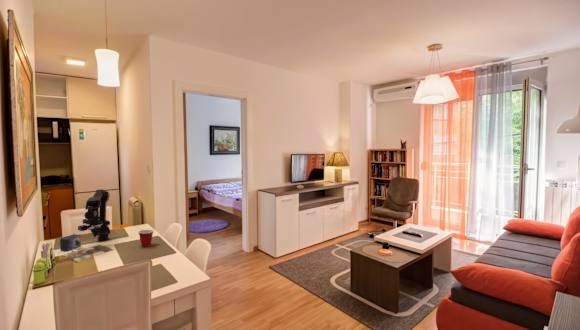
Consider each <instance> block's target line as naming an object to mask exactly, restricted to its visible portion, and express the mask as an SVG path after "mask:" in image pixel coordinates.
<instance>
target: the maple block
mask: <svg viewBox="0 0 580 330" xmlns="http://www.w3.org/2000/svg"><path fill="white" fill-rule="evenodd" d="M86 251H87V249H86V248H85V247H82V246H81V247H78V248H76V249H73V250H71V252H72V256H74V257H79V256H83V255H86Z"/></svg>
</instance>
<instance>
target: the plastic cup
mask: <svg viewBox="0 0 580 330" xmlns="http://www.w3.org/2000/svg"><path fill="white" fill-rule="evenodd" d="M154 232H155V230H154V229H141V230H138V235H139V240H140V243H141V247H142V248H149V247H151V245H152V240H153V234H154Z"/></svg>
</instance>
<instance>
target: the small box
mask: <svg viewBox="0 0 580 330" xmlns="http://www.w3.org/2000/svg"><path fill="white" fill-rule="evenodd" d="M59 242H60V244H59V247H60V251H61V252H70V251H72V250H73V249H77V248H81V247H82V246H81V235H80V234H75V233H74V234H70V235H67V236H64V237H61V238H60V240H59Z"/></svg>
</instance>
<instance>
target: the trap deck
mask: <svg viewBox="0 0 580 330" xmlns="http://www.w3.org/2000/svg"><path fill="white" fill-rule="evenodd" d="M90 248H92V249H90ZM85 249H86V255H83V256H79V257H74V256H72V251H71V252H68V253H65V254H63V257H64V258H65V257H66V259H67V258H68V259H67V260H69V259H70V261H71V262H72V261H73V262H74V263H76V264H78V263H79V262H78V261H81V260H85V259H89V258H92V257H95V256H96V253H98V252H101V253H98V254H97V256H99V255H102V254H105V253H108V252H111V251H114V250H115V249H113V248H110V247H108V246H105V245H102V244H97V245H93V246H90V247H86V248H85ZM87 249H90V250H87ZM92 254H95V255H92Z"/></svg>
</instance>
